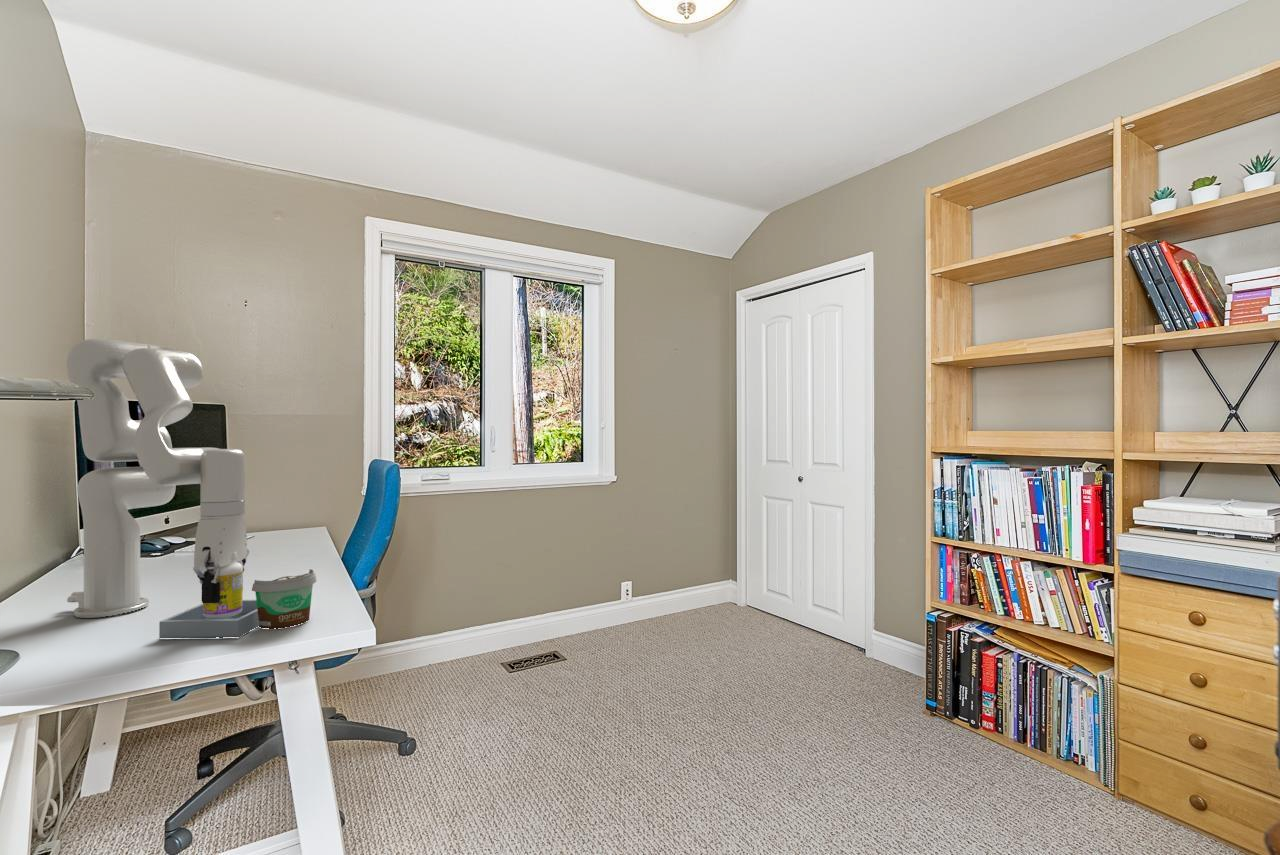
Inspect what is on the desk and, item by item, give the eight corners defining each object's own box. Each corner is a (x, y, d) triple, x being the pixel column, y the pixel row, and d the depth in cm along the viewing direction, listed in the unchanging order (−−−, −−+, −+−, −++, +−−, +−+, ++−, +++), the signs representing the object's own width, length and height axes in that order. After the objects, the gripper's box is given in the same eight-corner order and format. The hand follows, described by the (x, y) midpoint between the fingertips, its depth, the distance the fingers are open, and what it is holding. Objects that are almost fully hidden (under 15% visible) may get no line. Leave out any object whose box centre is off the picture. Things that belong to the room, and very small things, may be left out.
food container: (267, 636, 119) (267, 584, 119) (251, 630, 122) (251, 580, 122) (328, 619, 129) (328, 572, 129) (312, 614, 132) (312, 568, 132)
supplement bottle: (194, 619, 121) (194, 555, 121) (219, 609, 128) (219, 548, 128) (226, 620, 120) (226, 555, 120) (250, 610, 127) (250, 549, 127)
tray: (159, 640, 116) (159, 621, 116) (209, 616, 131) (209, 600, 131) (238, 638, 117) (238, 620, 117) (279, 615, 132) (279, 599, 132)
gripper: (230, 504, 133) (230, 586, 132) (173, 515, 115) (173, 610, 115) (266, 504, 133) (265, 586, 133) (214, 515, 116) (213, 609, 115)
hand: (222, 596), depth 124 cm, fingers closed on supplement bottle, 6 cm apart
